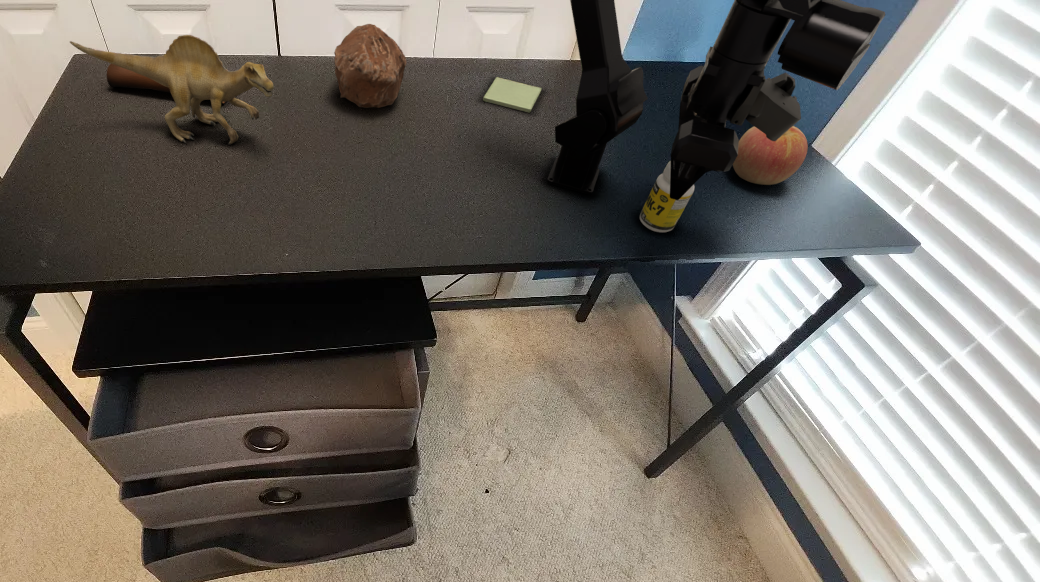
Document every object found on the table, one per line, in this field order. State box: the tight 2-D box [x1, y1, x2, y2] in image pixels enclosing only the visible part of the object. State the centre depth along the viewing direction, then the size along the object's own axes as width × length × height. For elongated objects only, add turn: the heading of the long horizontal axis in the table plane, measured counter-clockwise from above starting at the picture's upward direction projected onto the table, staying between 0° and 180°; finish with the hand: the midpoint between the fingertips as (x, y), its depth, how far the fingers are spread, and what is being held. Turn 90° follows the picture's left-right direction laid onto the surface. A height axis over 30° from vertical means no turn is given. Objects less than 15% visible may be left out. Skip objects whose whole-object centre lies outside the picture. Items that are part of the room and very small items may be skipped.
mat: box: [482, 76, 543, 114], centre depth 99 cm, size 8×8×1 cm
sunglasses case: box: [106, 63, 226, 104], centre depth 92 cm, size 18×7×7 cm, turn 81°
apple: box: [732, 125, 809, 186], centre depth 86 cm, size 9×9×8 cm
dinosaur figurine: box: [69, 34, 275, 145], centre depth 82 cm, size 8×26×13 cm, turn 81°
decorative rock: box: [333, 23, 407, 109], centre depth 92 cm, size 13×11×10 cm
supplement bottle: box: [639, 160, 695, 233], centre depth 77 cm, size 5×5×8 cm
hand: (677, 178), depth 75 cm, fingers open, 9 cm apart
